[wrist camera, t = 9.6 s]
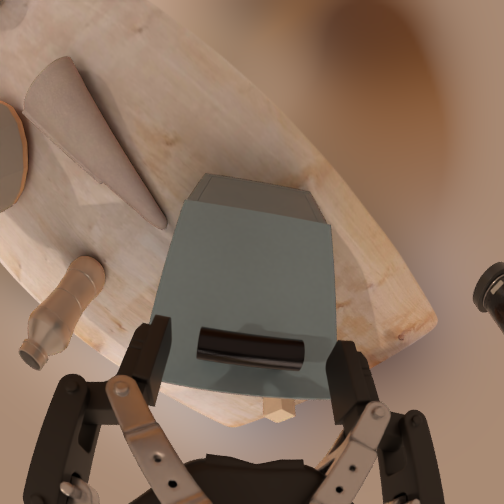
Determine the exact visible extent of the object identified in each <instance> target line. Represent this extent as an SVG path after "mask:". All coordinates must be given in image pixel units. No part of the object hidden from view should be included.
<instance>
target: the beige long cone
mask: <svg viewBox="0 0 504 504" xmlns="http://www.w3.org/2000/svg"><path fill="white" fill-rule="evenodd" d="M22 114H23V115H24V116H26V117H27V118H28V119H29V120H30V121H31V122H32V123H33V124H34V125H35V126H36V127H37V128H38V129H39V130H40V131H41V132H42V133H44V134H45V135H46V136H47V137H48V138H49V139H50V140H51V141H52V142H53V143H54V144H55V145H57V146H58V147H59V148H60V149H61V150H62V151H63V152H64V153H65V154H67V155H68V156H69V157H70V158H71V159H72V160H73V161H74V162H75V163H77V164H78V165H79V166H80V167H81V168H82V169H83V170H85V171H86V172H87V173H88V174H89V175H90V176H91V177H93V178H94V179H95V180H96V181H97V182H98V183H100V184H102V183H104V184H105V185H107V186H108V187H109V188H110V189H111V190H112V191H113V192H115V193H116V194H117V195H118V196H119V197H120V198H121V199H123V200H124V201H125V202H126V203H127V204H129V205H130V206H131V207H132V208H133V209H134V210H136V211H137V212H138V213H139V214H140V215H141V216H142V217H143V218H144V219H145V220H146V221H148V222H149V223H150V224H152V225H153V226H155V227H157V228H158V229H161V230H163V229H165V228H166V227H167V220H166V218H165V216H164V215H163V213H162V212H161V210H160V208H159V207H158V205H157V204H156V202H155V200H154V199H153V197H152V195H151V194H150V192H149V191H148V189H147V188H146V186H145V184H144V183H143V181H142V180H141V178H140V177H139V175H138V173H137V172H136V170H135V169H134V167H133V166H132V164H131V162H130V161H129V159H128V158H127V156H126V154H125V153H124V151H123V149H122V148H121V146H120V145H119V143H118V141H117V140H116V138H115V136H114V135H113V133H112V131H111V130H110V128H109V126H108V124H107V123H106V121H105V119H104V118H103V116H102V114H101V112H100V111H99V109H98V107H97V105H96V104H95V102H94V100H93V98H92V97H91V95H90V93H89V91H88V89H87V88H86V86H85V84H84V82H83V80H82V78H81V76H80V74H79V72H78V71H77V69H76V67H75V65H74V63H73V61H72V59H71V58H70V57H62V58H59V59H57V60H55V61H54V62H52V63H51V64H50V65H48V66H47V67H46V68H45V69H44V70H43V71H42V72H41V73H40V74H39V75H38V76H37V77H36V79H35V80H34V81H33V83H32V84H31V86H30V88H29V89H28V91H27V94H26V96H25V99H24V110H23V111H22Z"/></svg>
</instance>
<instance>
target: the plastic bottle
mask: <svg viewBox="0 0 504 504" xmlns="http://www.w3.org/2000/svg"><path fill="white" fill-rule="evenodd" d="M104 284H105V272H104V269H103V267H102V266H101V264H100V263H99V262H98V261H97V260H96V259H94V258H92V257H89V256H81V257H78V258H77V259H76V260H74V261H73V262H72V263H71V264H70V266H69V268H68V269H67V271H66V274H65V275H64V277H63V278H62V280H61V281H60V283H59V285H58V286H57V287H56V288H55V290H54V291H53V292H52V293H51V294H50V295H49V296H48V297H47V299H45V300H44V301H43V302H42V303H41V304H40V305H39V306H38V307H37V308H36V309H35V310H34V311H33V312H32V313H31V315H30V317H29V320H28V339H25V340H24V341H23V345H22V346H21V347H20V349H19V355H20V356H21V358H22V359H23V360H24V361H25V362H26V363H27V364H28V365H29V366H30V367H32V368H33V369H35V370H38V371H40V370H41V369H42V368H43V366H44V364H45V363H47V361H48V356H50V355H55V354H58V353H61V352H62V351H63V350H65V349H66V348H67V346H68V344H69V342H70V339H71V337H72V334H73V332H74V329H75V326H76V324H77V322H78V321H79V319H80V317H81V315H82V313H83V311H84V310H85V309H86V308H87V306H88V305H89V304H90V303H91V301H92V300H93V299H94V298H96V297H97V296H98V295H99V293H100V292H101V291H102V289H103V287H104Z"/></svg>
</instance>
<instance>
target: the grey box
mask: <svg viewBox="0 0 504 504" xmlns="http://www.w3.org/2000/svg"><path fill="white" fill-rule="evenodd" d="M187 200H192V201H199V202H205V203H212V204H218V205H224V206H231V207H237V208H243V209H249V210H255V211H260V212H266V213H272V214H277V215H283V216H288V217H293V218H299V219H304V220H309V221H314V222H319V223H324V224H327V222H326V220H325V219H324V217H323V215H322V213H321V211H320V209H319V207H318V206H317V204H316V202H315V200H314V198H313V196H312V195H311V193H310V192H309V191H304V190H299V189H294V188H289V187H284V186H279V185H273V184H268V183H263V182H257V181H251V180H245V179H239V178H233V177H227V176H220V175H214V174H207V173H205V175H204V176H203V177H202V179H201V180H200V182H199V183H198V184H197V186H196V187H195V189H194V190H193V192H192V193H191V194H190V196H189V197H188V199H187Z"/></svg>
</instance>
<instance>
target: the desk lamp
mask: <svg viewBox="0 0 504 504" xmlns="http://www.w3.org/2000/svg"><path fill="white" fill-rule="evenodd" d="M27 170H28V156H27V141H26V137H25V133H24V129H23V125H22V121H21V120H20V118H19V116H18V115H17V113H16V111H15V110H14V108H13V106H11V105H9V104H7V103H5V102H3V101H0V213H1V212H3V211H5V210H6V209H8V208H10V207H11V206H12V205H13V204H15V203H16V202H17V200H18V198H19V196H20V195H21V193H22V191H23V189H24V186H25V180H26V175H27Z"/></svg>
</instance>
